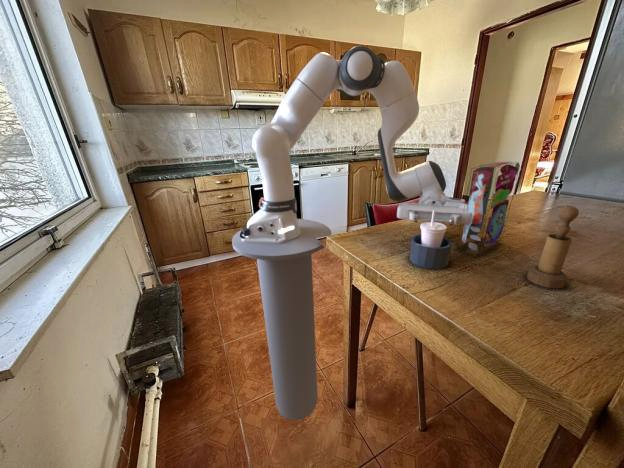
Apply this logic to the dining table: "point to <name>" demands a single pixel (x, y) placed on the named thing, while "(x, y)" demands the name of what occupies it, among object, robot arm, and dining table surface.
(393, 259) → the dining table surface
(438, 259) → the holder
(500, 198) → the box
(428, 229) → the smoothie
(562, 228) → the mortar and pestle
